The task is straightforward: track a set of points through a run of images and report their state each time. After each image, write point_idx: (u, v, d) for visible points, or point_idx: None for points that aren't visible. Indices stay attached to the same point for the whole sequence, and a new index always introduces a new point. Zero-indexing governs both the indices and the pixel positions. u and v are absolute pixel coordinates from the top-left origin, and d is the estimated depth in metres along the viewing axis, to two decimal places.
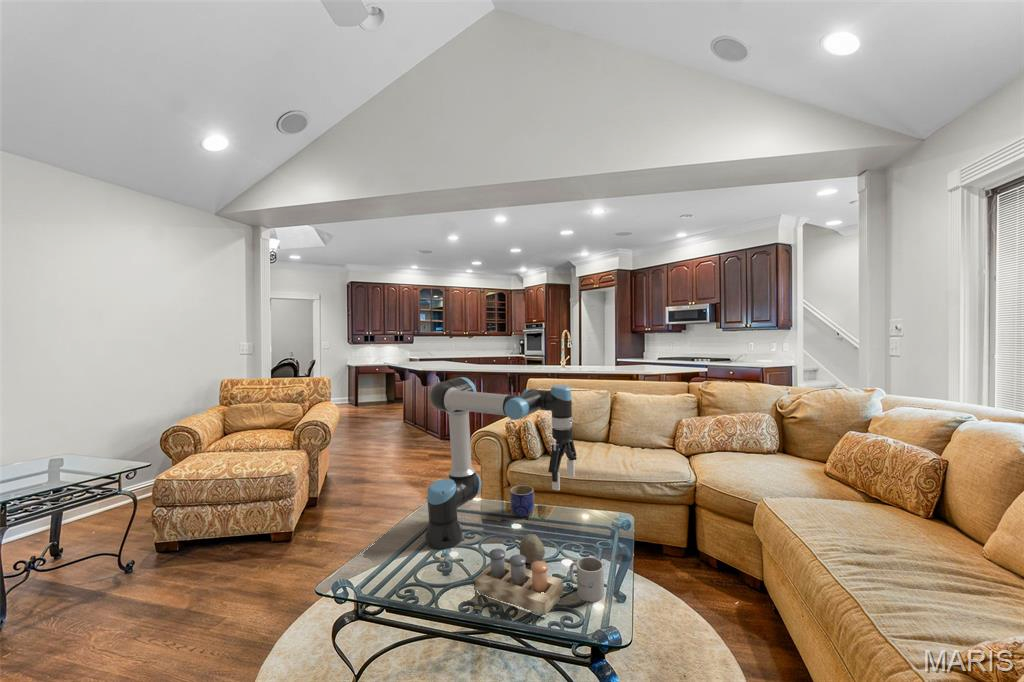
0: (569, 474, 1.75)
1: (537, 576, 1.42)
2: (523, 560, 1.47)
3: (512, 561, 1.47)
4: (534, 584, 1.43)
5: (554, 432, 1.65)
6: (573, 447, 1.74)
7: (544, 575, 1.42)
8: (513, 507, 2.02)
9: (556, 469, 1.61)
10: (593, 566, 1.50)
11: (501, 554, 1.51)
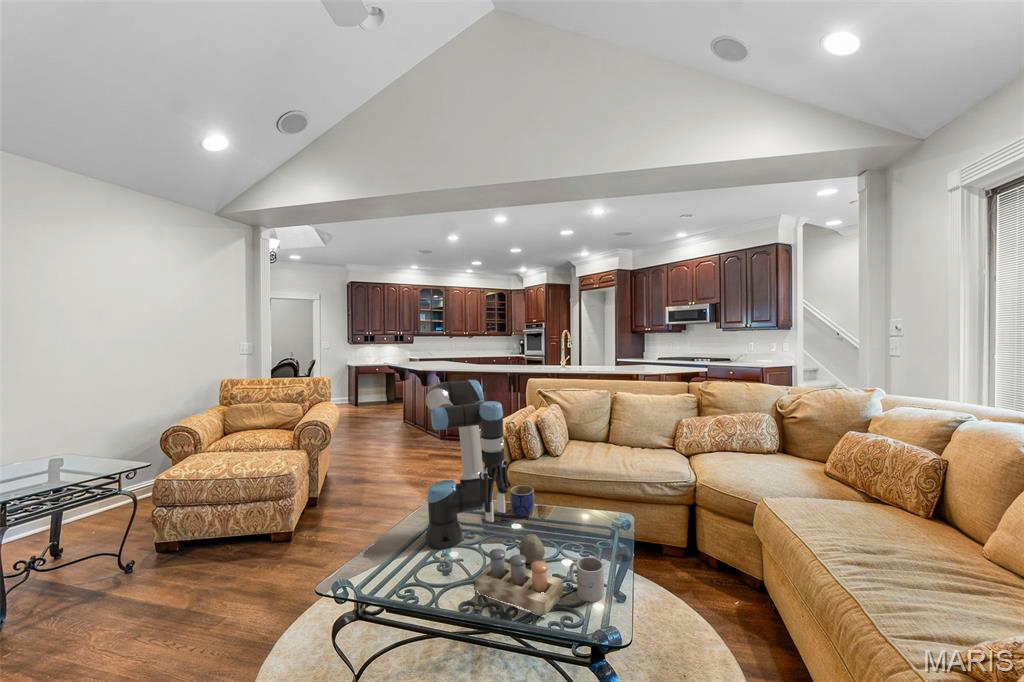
0: (499, 509, 1.54)
1: (537, 576, 1.42)
2: (523, 560, 1.47)
3: (512, 561, 1.47)
4: (534, 584, 1.43)
5: (483, 454, 1.47)
6: (505, 475, 1.54)
7: (544, 575, 1.42)
8: (513, 507, 2.02)
9: (488, 499, 1.46)
10: (593, 566, 1.50)
11: (501, 554, 1.51)
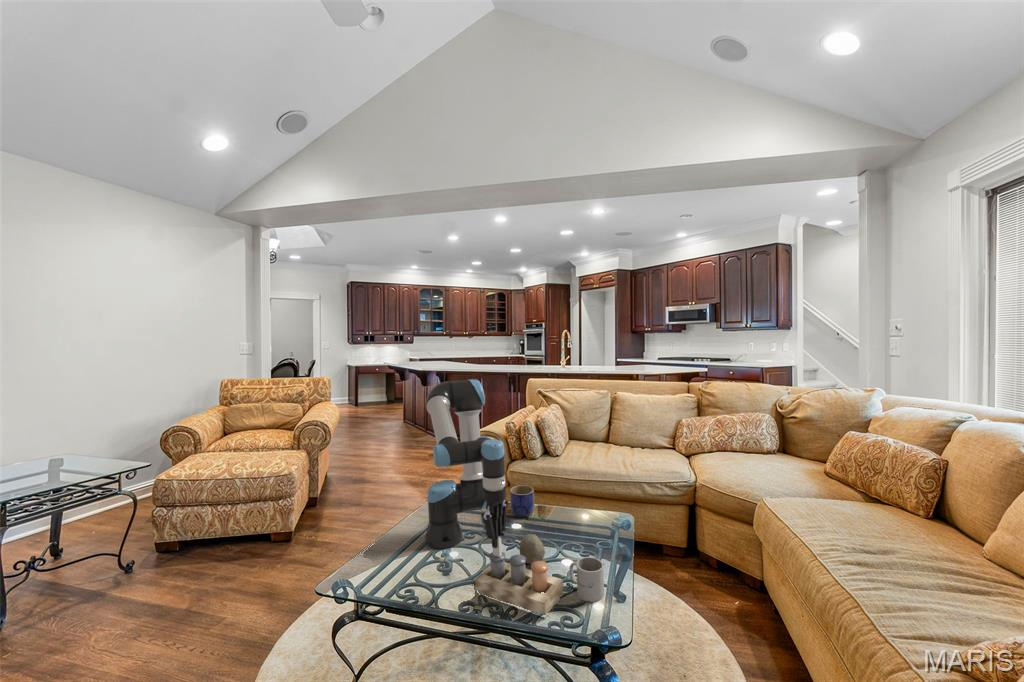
0: None
1: (537, 576, 1.42)
2: (523, 560, 1.47)
3: (512, 561, 1.47)
4: (534, 584, 1.43)
5: (484, 493, 1.48)
6: (504, 516, 1.53)
7: (544, 575, 1.42)
8: (513, 507, 2.02)
9: (495, 536, 1.49)
10: (593, 566, 1.50)
11: (501, 557, 1.51)
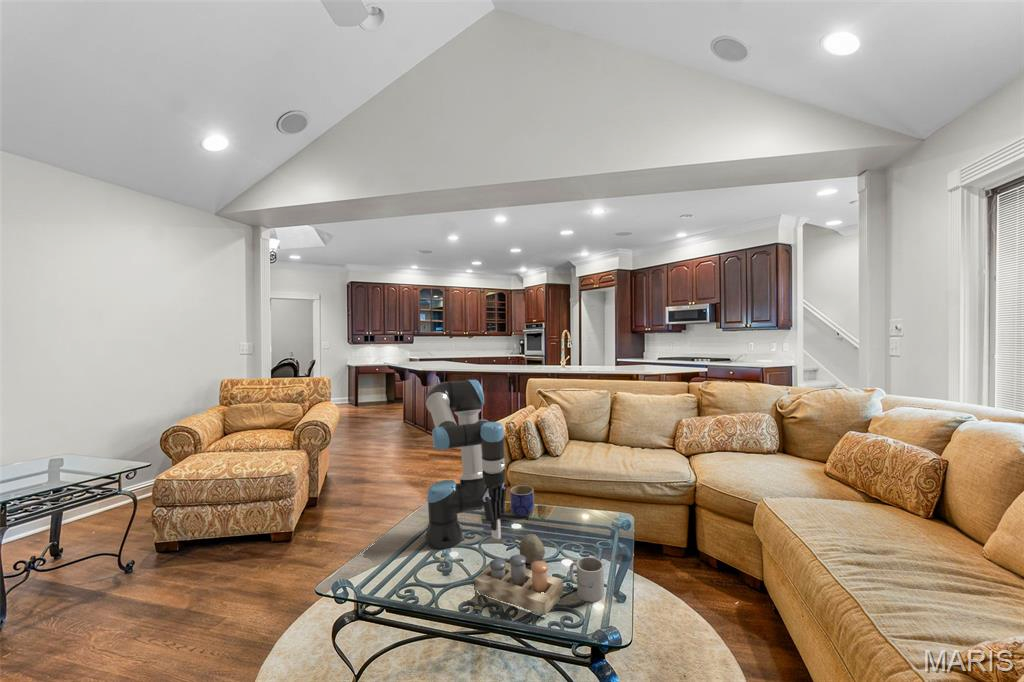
0: None
1: (537, 576, 1.42)
2: (523, 560, 1.47)
3: (512, 561, 1.47)
4: (534, 584, 1.43)
5: (484, 475, 1.48)
6: (503, 499, 1.53)
7: (544, 575, 1.42)
8: (513, 507, 2.02)
9: (494, 518, 1.49)
10: (593, 566, 1.50)
11: (502, 564, 1.51)
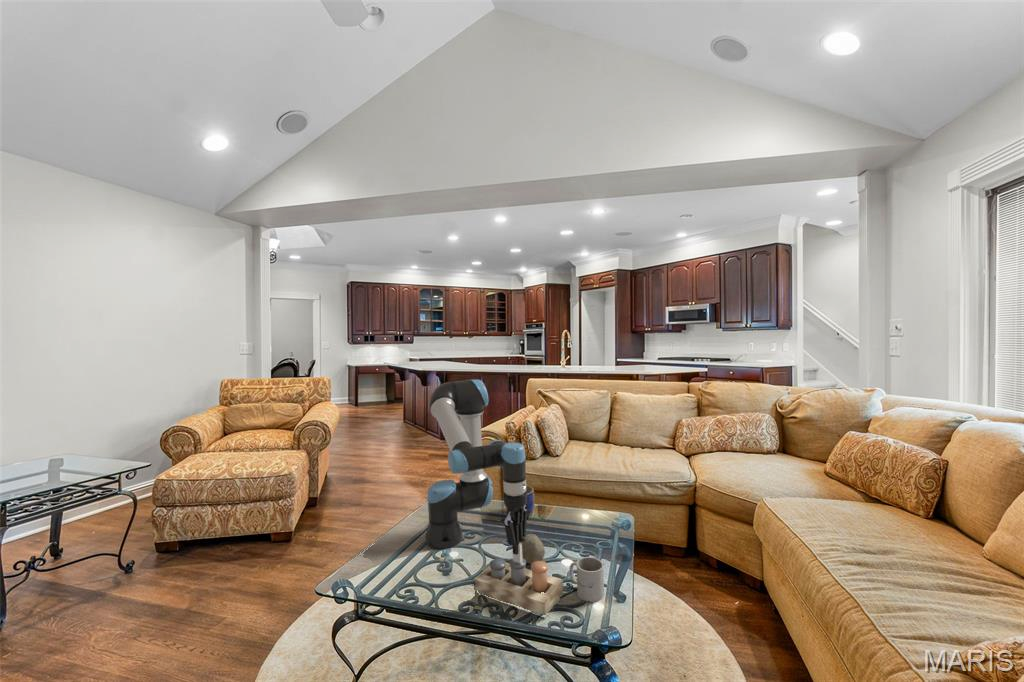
0: None
1: (537, 576, 1.42)
2: (523, 563, 1.47)
3: (512, 564, 1.47)
4: (534, 584, 1.43)
5: (505, 498, 1.44)
6: (525, 521, 1.49)
7: (544, 575, 1.42)
8: None
9: (516, 542, 1.45)
10: (593, 566, 1.50)
11: (502, 564, 1.51)
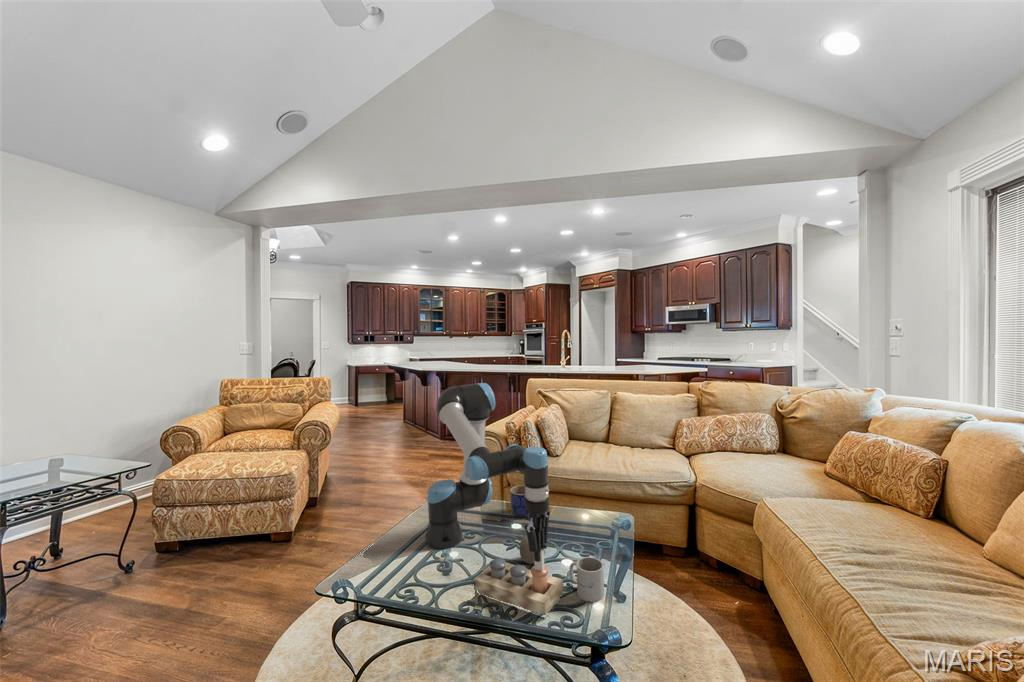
0: None
1: (537, 580, 1.42)
2: (523, 571, 1.47)
3: (512, 572, 1.47)
4: (534, 588, 1.43)
5: (527, 504, 1.40)
6: (546, 527, 1.45)
7: (544, 579, 1.42)
8: (513, 507, 2.02)
9: (538, 549, 1.41)
10: (593, 566, 1.50)
11: (502, 564, 1.51)
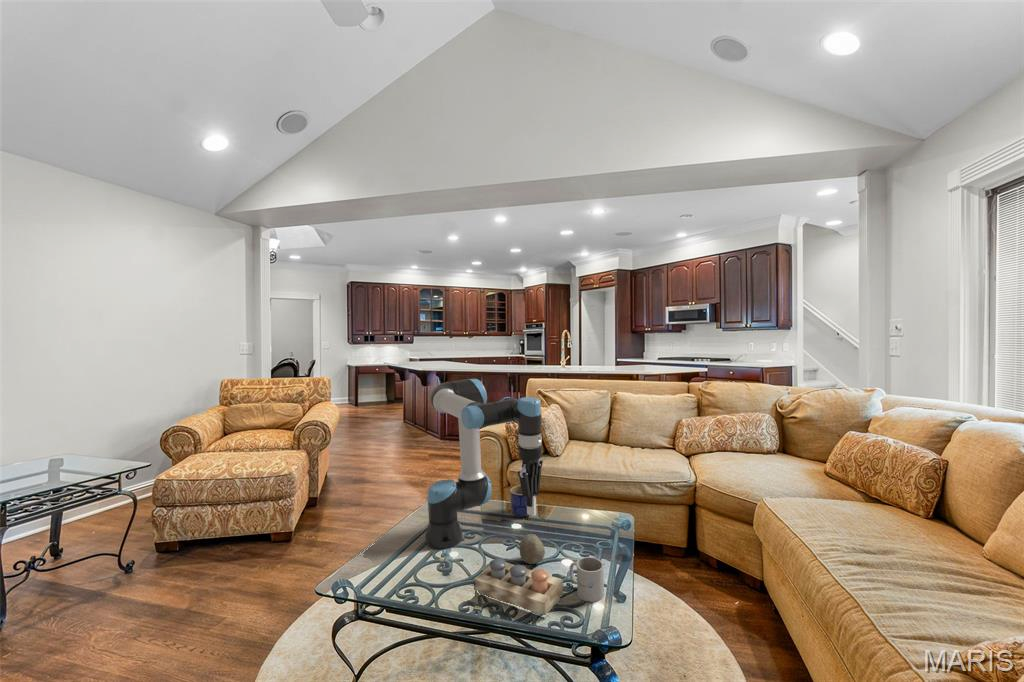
0: None
1: (537, 584, 1.42)
2: (523, 571, 1.47)
3: (512, 572, 1.47)
4: None
5: (520, 451, 1.45)
6: (539, 475, 1.51)
7: (544, 584, 1.42)
8: (513, 507, 2.02)
9: None
10: (593, 566, 1.50)
11: (502, 564, 1.51)
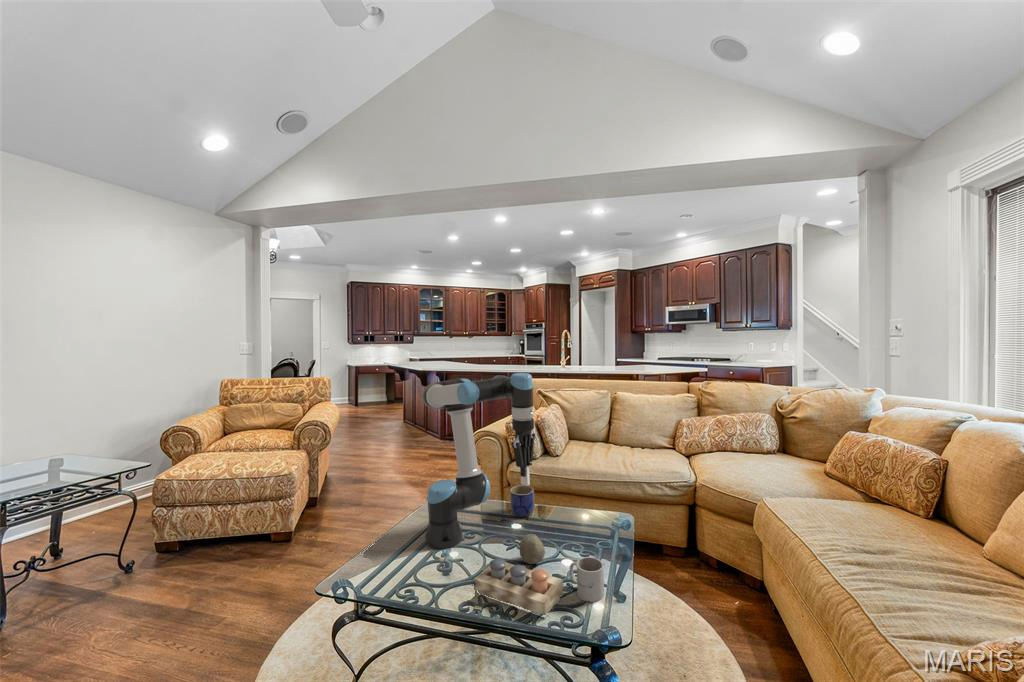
0: None
1: (537, 584, 1.42)
2: (523, 571, 1.47)
3: (512, 572, 1.47)
4: None
5: (514, 423, 1.54)
6: (532, 447, 1.59)
7: (544, 584, 1.42)
8: (513, 507, 2.02)
9: (524, 464, 1.55)
10: (593, 566, 1.50)
11: (502, 564, 1.51)
